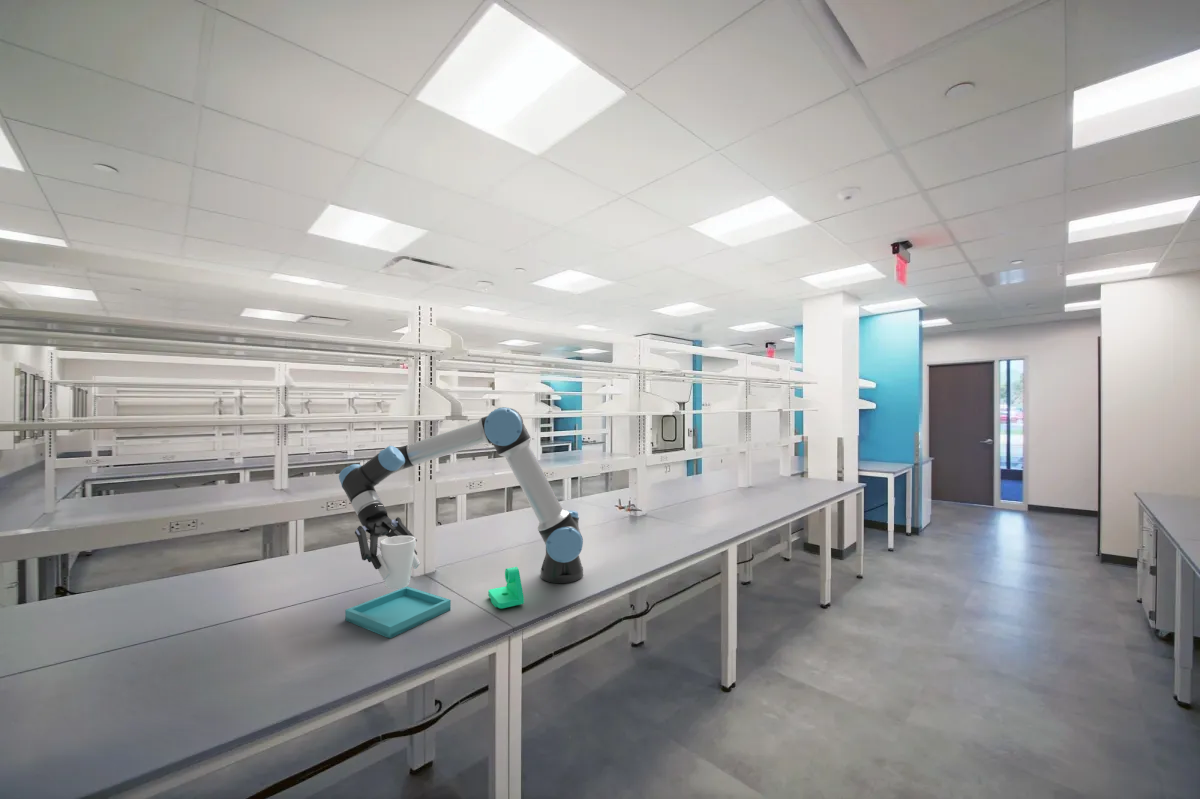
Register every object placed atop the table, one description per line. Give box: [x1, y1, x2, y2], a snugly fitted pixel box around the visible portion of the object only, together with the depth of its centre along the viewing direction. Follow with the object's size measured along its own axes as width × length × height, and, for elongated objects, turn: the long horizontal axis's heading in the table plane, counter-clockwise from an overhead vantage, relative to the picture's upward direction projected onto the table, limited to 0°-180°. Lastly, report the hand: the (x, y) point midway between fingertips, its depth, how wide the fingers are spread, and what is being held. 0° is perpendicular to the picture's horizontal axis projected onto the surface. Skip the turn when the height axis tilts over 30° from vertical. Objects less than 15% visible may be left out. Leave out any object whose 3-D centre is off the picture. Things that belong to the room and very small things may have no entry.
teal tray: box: [344, 585, 452, 639], centre depth 135 cm, size 20×20×3 cm
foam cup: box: [379, 535, 417, 590], centre depth 135 cm, size 10×9×13 cm
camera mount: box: [487, 566, 525, 609], centre depth 144 cm, size 12×8×10 cm, turn 30°
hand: (402, 571), depth 134 cm, fingers closed on foam cup, 9 cm apart
